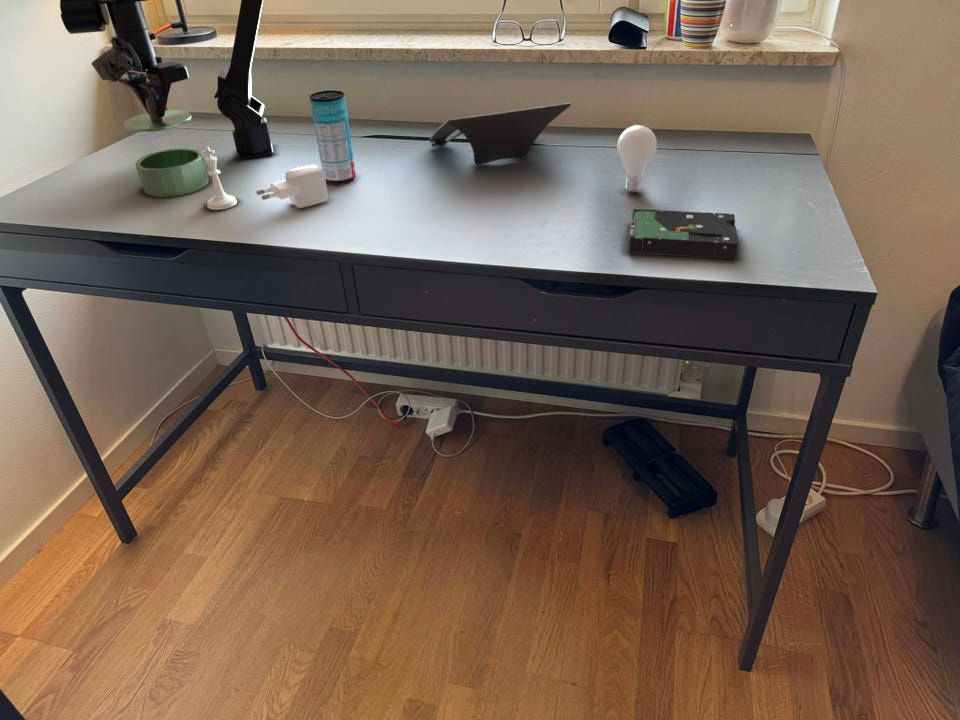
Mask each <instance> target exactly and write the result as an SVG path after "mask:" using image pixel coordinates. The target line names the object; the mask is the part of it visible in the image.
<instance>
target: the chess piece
mask: <svg viewBox="0 0 960 720" xmlns="http://www.w3.org/2000/svg"><path fill="white" fill-rule="evenodd" d="M212 154H213V155H214V154H215V150H214V149H210V146H206V147H205V150H202V155H207V157H205V158H203V159H204V162H205V165H206V167H207V168H208V171H207V174H208V177H209V176H211V179H212V185H213V186H212V187H213V195H212V197H210V198H209V199H208V200H207V201H206V207H207V208H208V209H209V210H213V211H214V210H215V211H220V210H226V209H230V208H233V207H234V206H235V205H237V203H238V201H237V199H236V197H235V196H234V195H231V194H227V192H225V191H224V188H223V186H222V183H221V181H220V178H219V175H220V174H221V173H222V172H221V170H220V169H217V162H218V158H217V156H212Z"/></svg>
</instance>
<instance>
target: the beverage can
mask: <svg viewBox="0 0 960 720" xmlns="http://www.w3.org/2000/svg"><path fill="white" fill-rule="evenodd" d="M309 100H310V101H309V102H310V108H311V114H312V119H313V126H314V132H315V137H316V142H317V149H318V156H319V160H320V165H321V166H320V167H321V169H322V171H323V172H324V176H325V182H326V183H329V184H332V185H341V184H347V183H349V182H351V181H353V180H354V179H355V178H356V173H357V172H356V165H355V160H354V152H353V145H352V137H351V131H350V124H349V116H348V110H347V109H348V108H347V104H346V98H345V93H344V91H342V90H322V91H317V92H314V93H312V94H310V95H309Z"/></svg>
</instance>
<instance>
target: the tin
mask: <svg viewBox="0 0 960 720" xmlns="http://www.w3.org/2000/svg"><path fill="white" fill-rule="evenodd" d="M203 155H204V154H203V152H201V151H200V150H198V149H194V148H171V149H169V148H168V149H164V150H160V151H156V152H152V153H149V154H147V155H144V156H142V157H140V158H139V159H137V160H136V161H135V168H136V171H137V173H138V177H139V179H140V184H141V186H142V189H143V192H144V193H145V194H146V195H148V196H150V197H155V198H173V197H179V196H185V195H188V194H191V193H195V192H197V191H200V190H202V189H203V188H205V187H206V186H207V185H208V184H209V182H210V180H209V179H210V178H209V175H208V170H207V165H206V163H205V161H204V159H205V158H204V156H203Z"/></svg>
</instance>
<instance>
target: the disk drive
mask: <svg viewBox="0 0 960 720" xmlns="http://www.w3.org/2000/svg"><path fill="white" fill-rule="evenodd" d="M630 221H631V222H630V229H629V236H628V246H627V251H628V252H629V253H630V252H632V253H633V254H648V255H661V256H663V255H664V256H678V257H679V256H680V257H691V258H692V257H694V258H709V259H710V258H711V259H736V257H737V253H738V246H739V240H738V232H737V226H736V216H735V213H723V212H715V213H714V212H700V211H682V210H665V209H664V210H660V209H649V208H648V209H647V208H646V209H642V208H633V210H632V215H631V220H630Z"/></svg>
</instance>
